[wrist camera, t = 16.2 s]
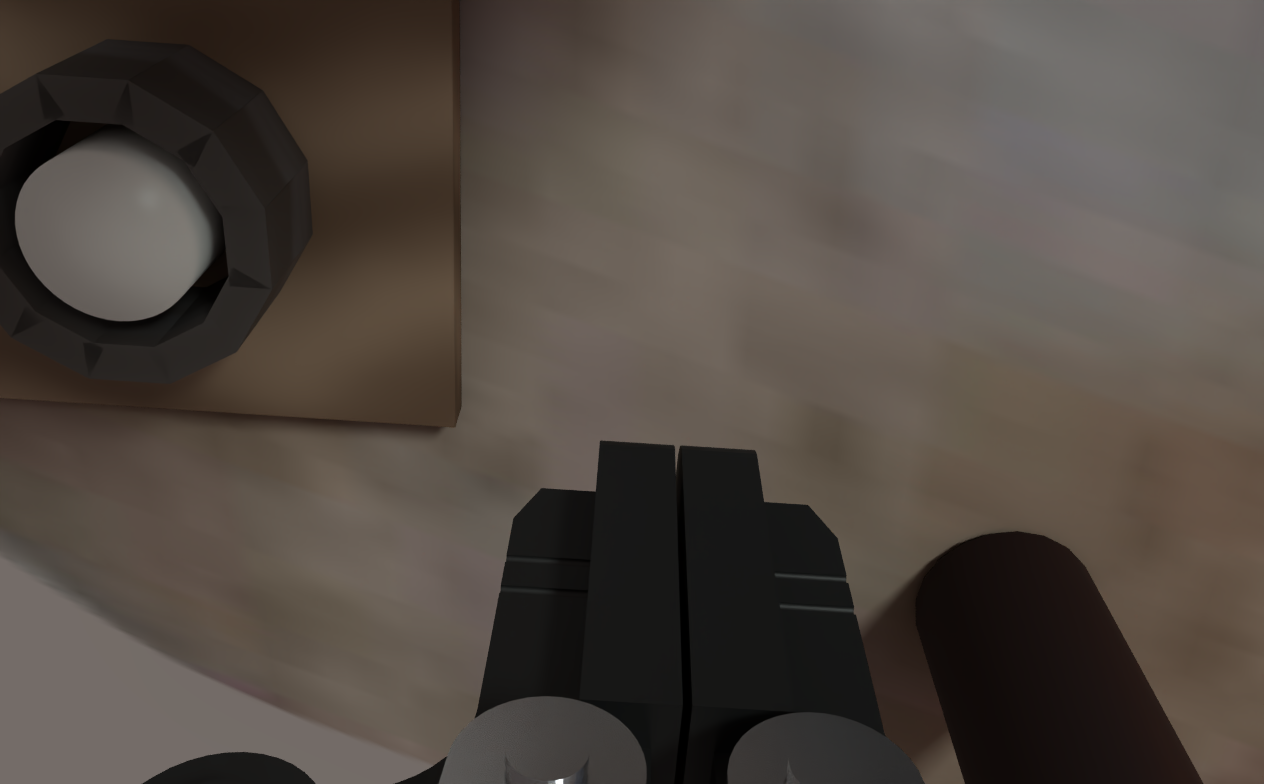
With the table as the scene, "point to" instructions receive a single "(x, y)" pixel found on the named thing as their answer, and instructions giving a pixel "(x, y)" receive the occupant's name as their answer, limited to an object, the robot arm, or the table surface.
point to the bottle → (1039, 671)
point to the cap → (117, 226)
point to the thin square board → (254, 202)
